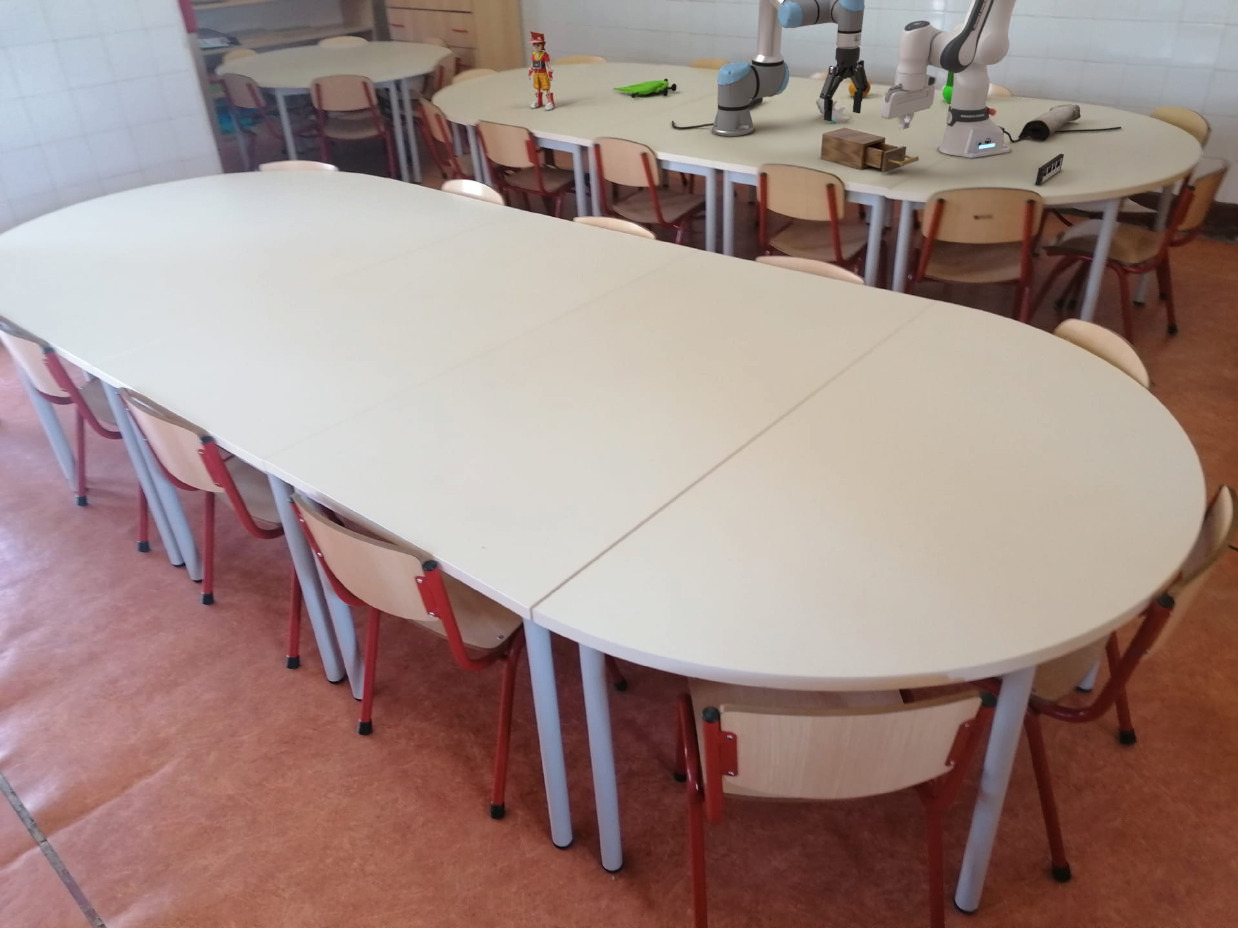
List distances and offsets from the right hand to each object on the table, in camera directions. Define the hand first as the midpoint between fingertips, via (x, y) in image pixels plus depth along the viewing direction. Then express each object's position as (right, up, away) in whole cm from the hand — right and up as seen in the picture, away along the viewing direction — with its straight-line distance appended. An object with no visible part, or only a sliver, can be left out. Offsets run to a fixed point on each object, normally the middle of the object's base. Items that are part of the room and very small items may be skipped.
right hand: (904, 128), depth 278 cm
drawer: (-3, -7, +12) cm, 15 cm away
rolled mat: (+63, +13, +38) cm, 75 cm away
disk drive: (-37, +43, +90) cm, 106 cm away
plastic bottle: (+44, +39, +77) cm, 97 cm away
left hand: (-15, +11, +18) cm, 26 cm away
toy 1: (-121, +48, +105) cm, 168 cm away
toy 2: (-79, +61, +119) cm, 155 cm away
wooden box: (-11, -2, +22) cm, 24 cm away
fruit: (+10, +48, +92) cm, 104 cm away
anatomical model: (-7, +28, +66) cm, 72 cm away
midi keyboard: (+43, -16, -3) cm, 46 cm away
